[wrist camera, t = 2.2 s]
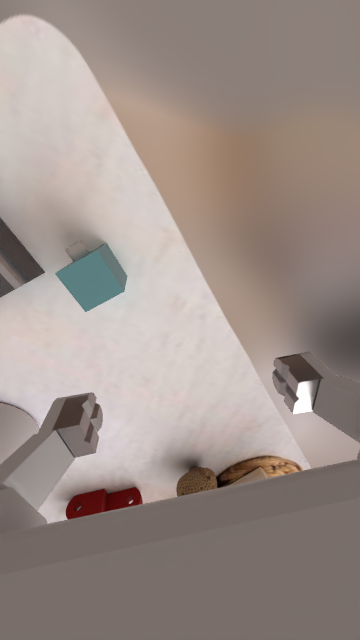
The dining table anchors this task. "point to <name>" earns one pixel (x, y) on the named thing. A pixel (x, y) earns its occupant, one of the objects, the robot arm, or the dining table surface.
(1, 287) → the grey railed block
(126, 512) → the robot arm
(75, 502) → the mechanical linkage
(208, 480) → the natural sponge
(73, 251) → the block
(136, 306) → the dining table surface
